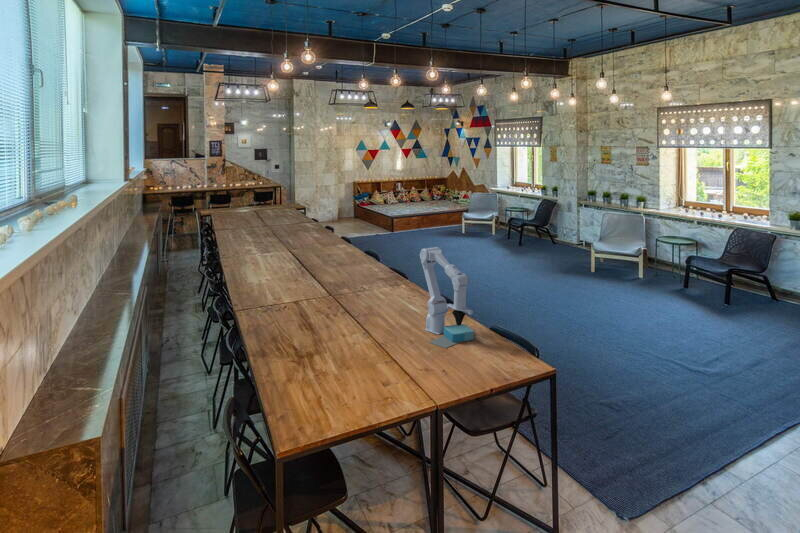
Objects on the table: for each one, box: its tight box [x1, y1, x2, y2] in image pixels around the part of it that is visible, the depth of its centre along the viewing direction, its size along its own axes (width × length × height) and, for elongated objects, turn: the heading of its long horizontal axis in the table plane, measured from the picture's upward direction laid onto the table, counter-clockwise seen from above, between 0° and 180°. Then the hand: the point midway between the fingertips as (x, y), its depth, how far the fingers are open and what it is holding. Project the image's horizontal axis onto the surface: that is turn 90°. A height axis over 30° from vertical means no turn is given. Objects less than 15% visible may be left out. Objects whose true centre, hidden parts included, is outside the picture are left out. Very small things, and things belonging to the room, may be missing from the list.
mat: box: [428, 334, 476, 349], centre depth 251 cm, size 11×24×1 cm, turn 136°
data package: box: [443, 323, 475, 343], centre depth 252 cm, size 12×4×12 cm
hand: (458, 325), depth 246 cm, fingers closed
